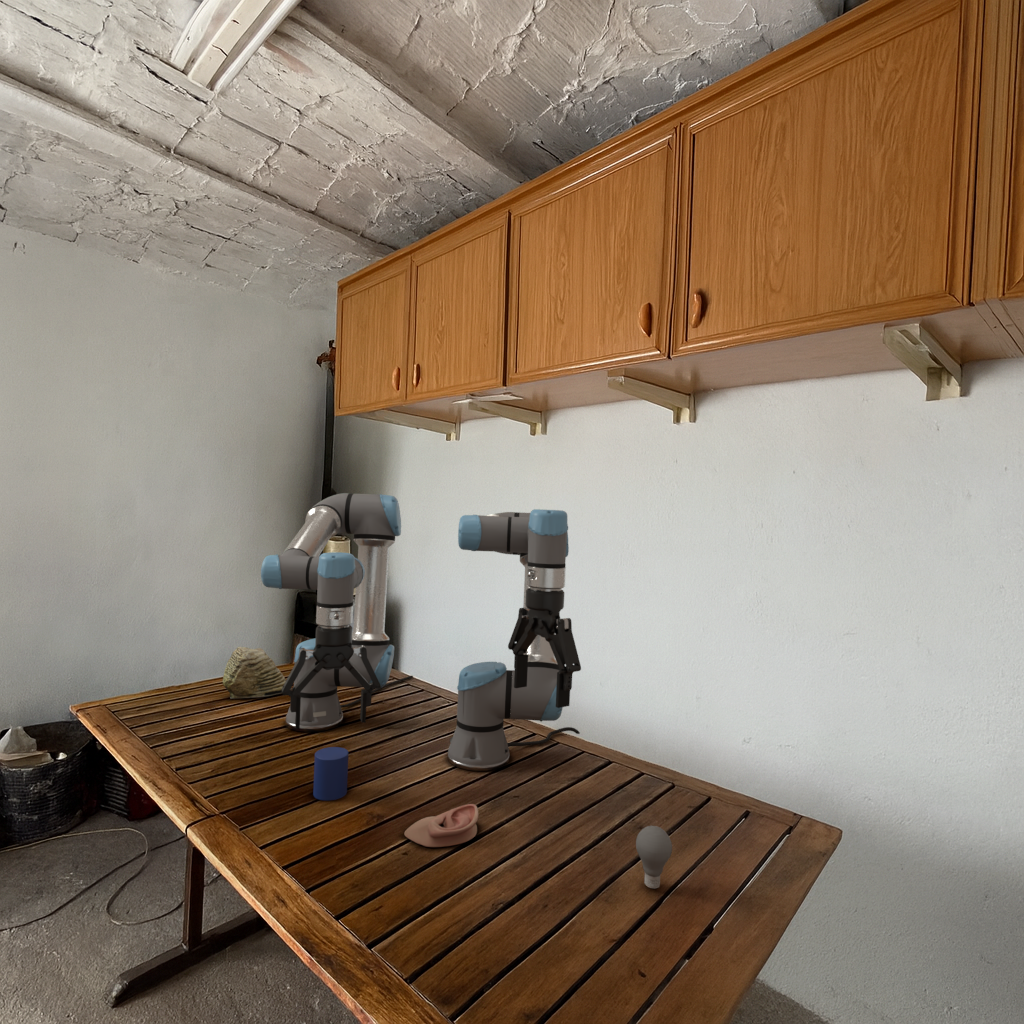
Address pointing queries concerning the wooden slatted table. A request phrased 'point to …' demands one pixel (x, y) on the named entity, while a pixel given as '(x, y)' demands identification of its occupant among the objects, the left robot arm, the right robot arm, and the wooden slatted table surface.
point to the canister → (330, 773)
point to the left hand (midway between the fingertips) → (330, 723)
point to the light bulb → (653, 853)
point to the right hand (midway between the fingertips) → (540, 696)
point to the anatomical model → (445, 827)
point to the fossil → (252, 674)
